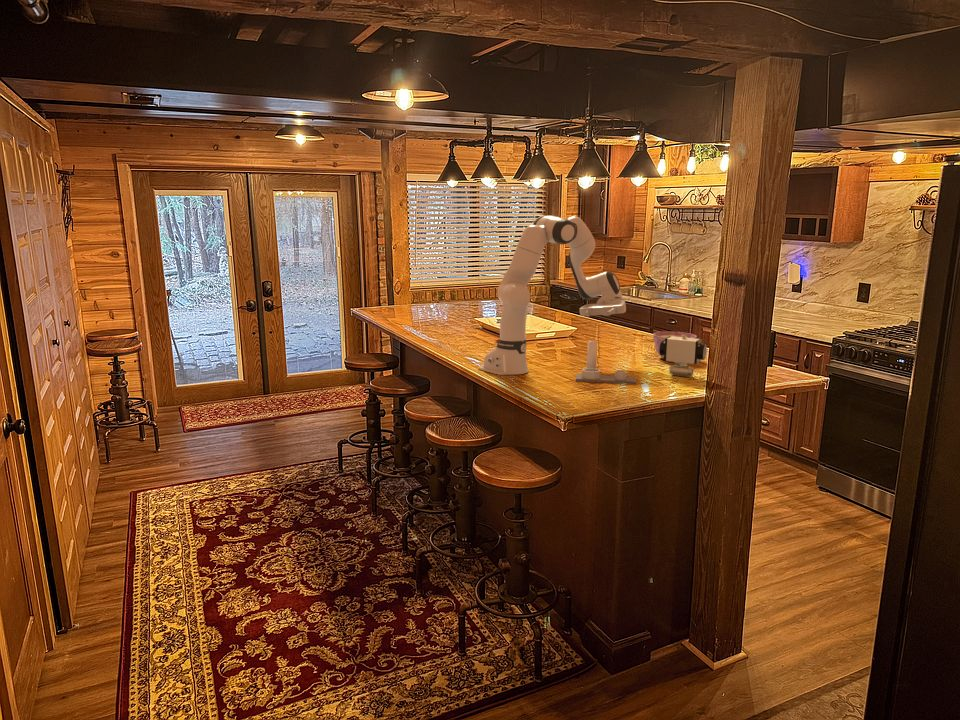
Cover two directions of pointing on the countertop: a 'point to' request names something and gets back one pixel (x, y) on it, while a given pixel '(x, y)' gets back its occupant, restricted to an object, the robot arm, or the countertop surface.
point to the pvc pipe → (591, 354)
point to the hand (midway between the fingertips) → (598, 314)
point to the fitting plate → (604, 376)
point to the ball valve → (682, 353)
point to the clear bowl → (662, 335)
